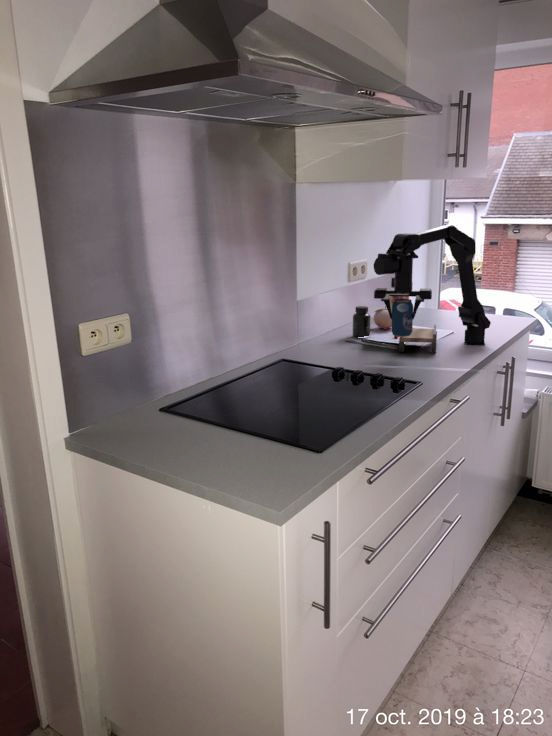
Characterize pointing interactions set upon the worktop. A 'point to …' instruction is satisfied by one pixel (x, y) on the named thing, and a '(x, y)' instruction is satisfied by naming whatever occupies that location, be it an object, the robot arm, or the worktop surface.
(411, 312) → the soda can
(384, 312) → the decorative fruit
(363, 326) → the supplement bottle
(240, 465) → the worktop surface
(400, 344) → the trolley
